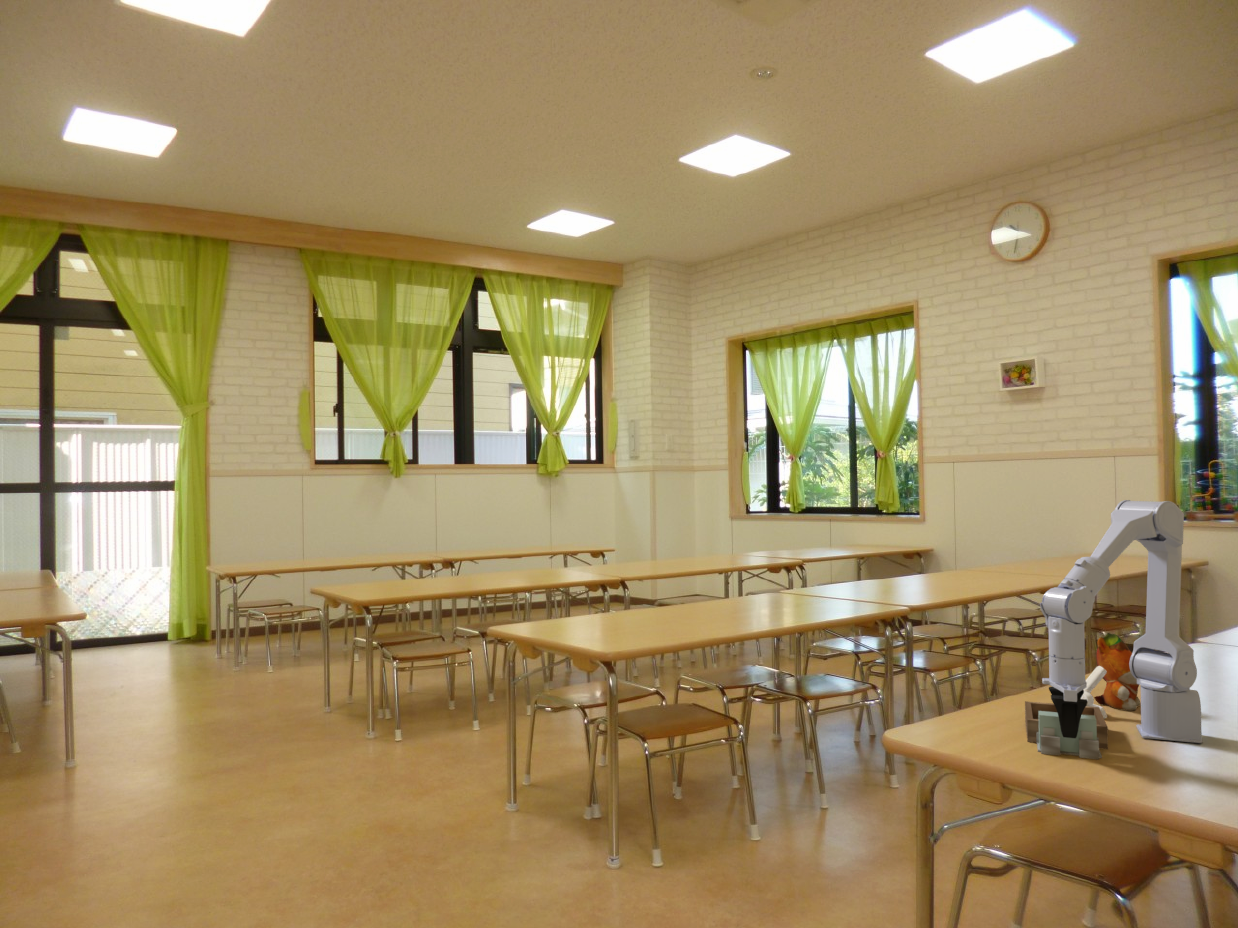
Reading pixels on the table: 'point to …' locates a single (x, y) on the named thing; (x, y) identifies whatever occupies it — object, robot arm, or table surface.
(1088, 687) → the white vr controller
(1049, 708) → the carcass
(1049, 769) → the table surface
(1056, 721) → the door
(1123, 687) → the toy
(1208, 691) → the table surface
